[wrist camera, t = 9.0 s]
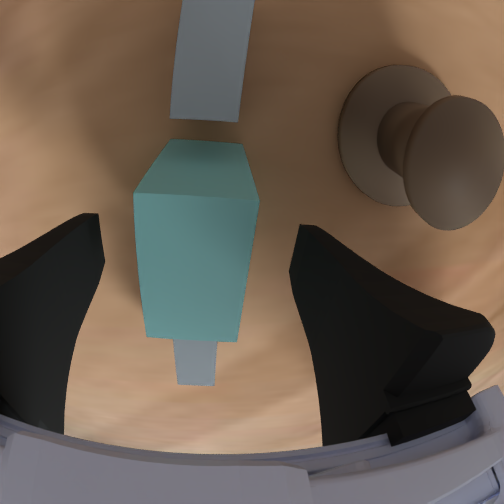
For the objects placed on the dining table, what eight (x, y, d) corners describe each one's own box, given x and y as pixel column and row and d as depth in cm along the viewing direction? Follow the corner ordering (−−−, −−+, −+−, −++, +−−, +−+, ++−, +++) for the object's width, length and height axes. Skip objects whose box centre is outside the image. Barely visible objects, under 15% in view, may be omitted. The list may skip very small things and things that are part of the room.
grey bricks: (213, 338, 18) (214, 385, 15) (181, 337, 18) (177, 384, 15) (248, 2, 9) (258, -24, 6) (196, -2, 8) (187, -29, 5)
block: (229, 245, 15) (236, 342, 10) (167, 241, 14) (146, 336, 9) (242, 143, 12) (260, 200, 7) (170, 138, 12) (132, 192, 7)
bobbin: (434, 209, 15) (482, 254, 11) (323, 192, 14) (362, 244, 10) (466, 93, 11) (529, 113, 7) (352, 45, 10) (411, 39, 6)
